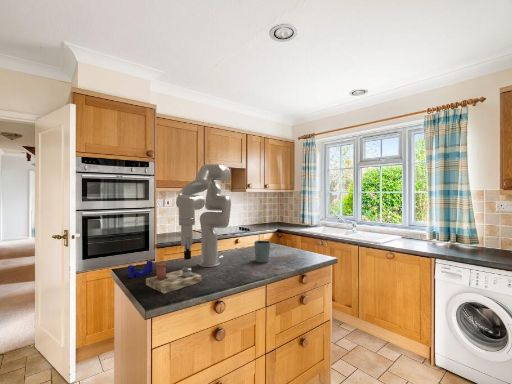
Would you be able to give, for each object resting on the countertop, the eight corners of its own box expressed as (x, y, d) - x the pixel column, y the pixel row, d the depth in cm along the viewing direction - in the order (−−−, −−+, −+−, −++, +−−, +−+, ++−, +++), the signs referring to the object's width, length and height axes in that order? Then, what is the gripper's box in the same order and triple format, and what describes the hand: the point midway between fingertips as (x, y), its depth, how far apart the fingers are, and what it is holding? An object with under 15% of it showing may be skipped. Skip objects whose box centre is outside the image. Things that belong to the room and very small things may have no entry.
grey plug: (187, 279, 135) (187, 266, 135) (193, 281, 132) (193, 268, 132) (179, 281, 131) (179, 268, 131) (185, 283, 128) (185, 270, 128)
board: (182, 274, 142) (182, 269, 142) (201, 281, 132) (201, 275, 132) (146, 284, 127) (146, 278, 127) (163, 293, 117) (163, 286, 117)
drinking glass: (251, 260, 172) (251, 241, 172) (262, 257, 179) (262, 239, 178) (261, 263, 164) (262, 244, 164) (273, 260, 171) (273, 241, 171)
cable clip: (132, 278, 137) (132, 267, 137) (128, 277, 139) (128, 265, 139) (154, 273, 146) (154, 261, 146) (149, 271, 149) (149, 260, 149)
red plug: (163, 275, 131) (163, 262, 131) (168, 277, 128) (168, 264, 128) (154, 278, 128) (154, 264, 128) (159, 280, 125) (159, 266, 125)
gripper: (178, 219, 137) (179, 255, 138) (179, 224, 123) (180, 264, 124) (193, 219, 140) (194, 254, 141) (196, 223, 125) (196, 262, 126)
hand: (187, 258), depth 132 cm, fingers closed
